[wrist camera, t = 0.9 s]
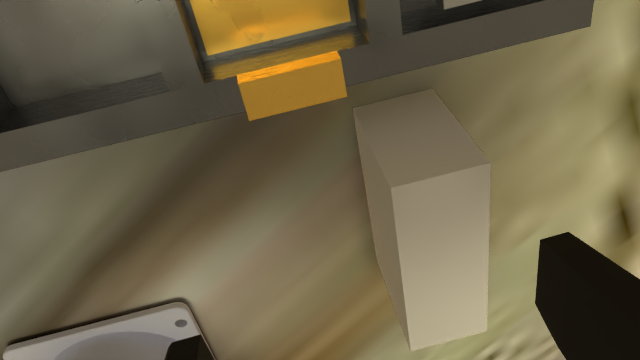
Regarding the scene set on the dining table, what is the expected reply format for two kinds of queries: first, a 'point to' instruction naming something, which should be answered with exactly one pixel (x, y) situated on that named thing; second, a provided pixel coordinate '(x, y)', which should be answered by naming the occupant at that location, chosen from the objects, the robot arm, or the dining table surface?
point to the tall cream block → (427, 215)
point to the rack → (224, 59)
